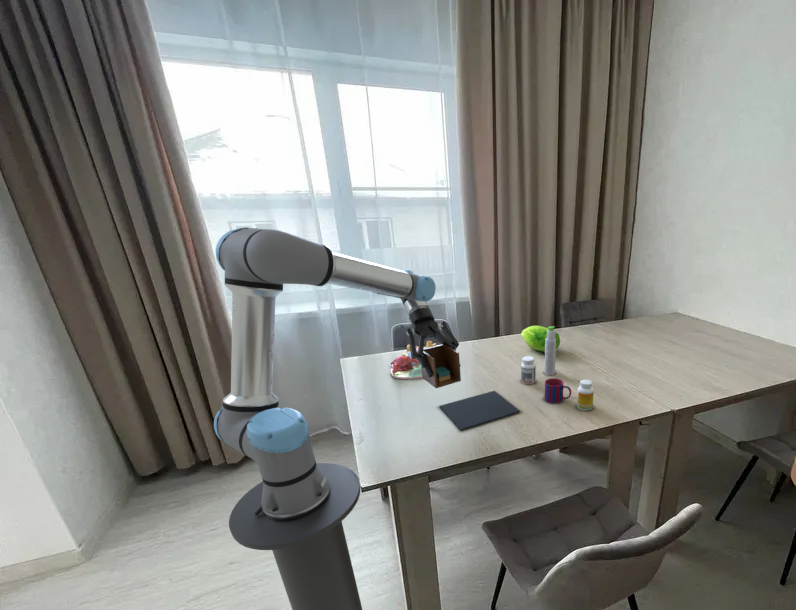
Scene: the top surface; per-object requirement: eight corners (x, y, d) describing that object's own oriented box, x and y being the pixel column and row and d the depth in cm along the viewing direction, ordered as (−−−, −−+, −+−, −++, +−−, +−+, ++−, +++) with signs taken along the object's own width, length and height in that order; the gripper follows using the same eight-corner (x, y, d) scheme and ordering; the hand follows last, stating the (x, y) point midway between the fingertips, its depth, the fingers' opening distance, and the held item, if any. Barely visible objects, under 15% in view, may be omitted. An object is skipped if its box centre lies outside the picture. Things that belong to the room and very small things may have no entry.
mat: (461, 430, 125) (460, 429, 125) (439, 407, 139) (439, 405, 139) (519, 412, 136) (519, 410, 135) (494, 392, 150) (494, 390, 150)
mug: (551, 393, 149) (551, 376, 146) (574, 401, 143) (575, 383, 140) (540, 399, 144) (541, 382, 141) (564, 408, 138) (564, 390, 135)
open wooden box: (422, 377, 133) (419, 349, 129) (446, 371, 138) (444, 344, 134) (436, 388, 125) (433, 359, 121) (461, 381, 130) (459, 352, 126)
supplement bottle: (594, 410, 136) (596, 384, 132) (578, 411, 136) (580, 385, 132) (590, 403, 141) (592, 378, 137) (575, 403, 141) (576, 378, 137)
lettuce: (533, 341, 202) (533, 319, 197) (567, 353, 186) (568, 329, 181) (514, 347, 194) (514, 324, 190) (547, 360, 178) (548, 335, 174)
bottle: (556, 374, 164) (558, 328, 156) (546, 375, 163) (548, 329, 155) (552, 370, 168) (554, 324, 160) (542, 371, 167) (543, 326, 159)
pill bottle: (528, 377, 162) (528, 354, 158) (538, 381, 158) (538, 358, 154) (518, 381, 158) (518, 358, 154) (528, 385, 154) (528, 362, 151)
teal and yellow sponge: (432, 373, 131) (431, 369, 131) (443, 370, 134) (442, 366, 133) (439, 378, 128) (438, 374, 127) (450, 374, 130) (449, 371, 129)
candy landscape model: (389, 360, 180) (386, 340, 177) (441, 353, 187) (439, 335, 183) (391, 382, 159) (388, 360, 155) (450, 374, 165) (449, 353, 162)
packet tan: (432, 376, 132) (432, 373, 131) (443, 373, 134) (443, 370, 134) (439, 382, 128) (439, 378, 128) (450, 378, 130) (450, 374, 130)
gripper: (445, 313, 142) (470, 368, 136) (385, 324, 130) (410, 385, 125) (451, 301, 136) (478, 358, 130) (389, 312, 124) (415, 375, 119)
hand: (445, 371), depth 127 cm, fingers closed on open wooden box, 9 cm apart
